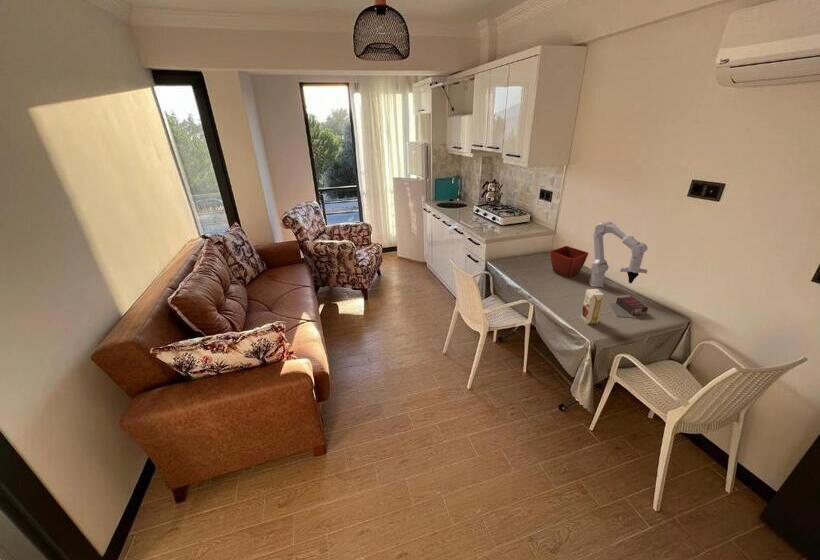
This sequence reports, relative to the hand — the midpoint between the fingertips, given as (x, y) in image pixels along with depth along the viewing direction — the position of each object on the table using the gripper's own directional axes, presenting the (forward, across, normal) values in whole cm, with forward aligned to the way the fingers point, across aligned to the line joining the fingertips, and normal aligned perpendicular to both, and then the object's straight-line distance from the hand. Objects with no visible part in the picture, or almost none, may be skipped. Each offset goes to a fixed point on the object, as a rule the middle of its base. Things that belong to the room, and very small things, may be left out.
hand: (630, 282), depth 207 cm
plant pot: (+11, -31, +34) cm, 47 cm away
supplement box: (+8, -5, -8) cm, 13 cm away
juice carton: (+11, -29, -34) cm, 46 cm away
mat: (+10, -6, -18) cm, 22 cm away
